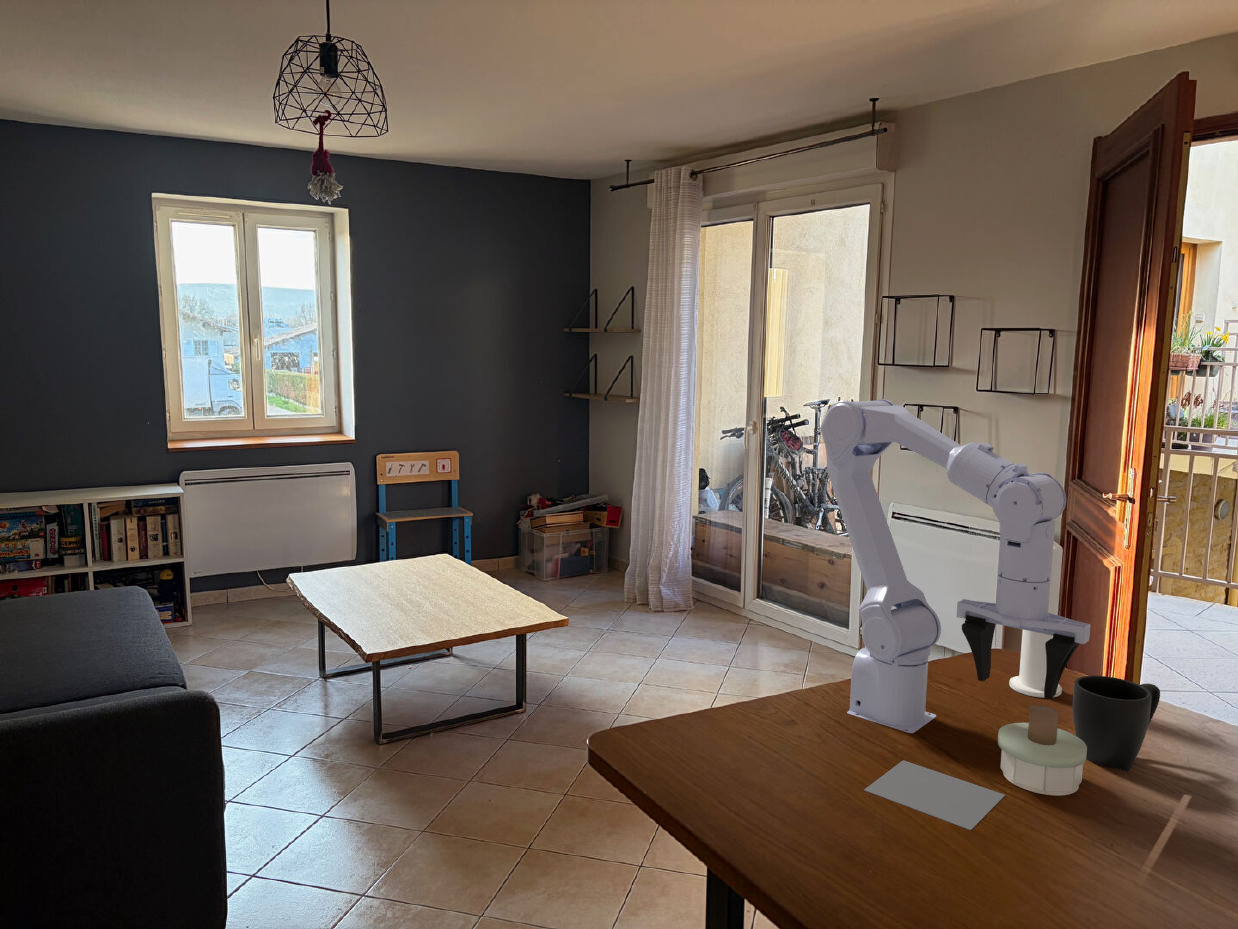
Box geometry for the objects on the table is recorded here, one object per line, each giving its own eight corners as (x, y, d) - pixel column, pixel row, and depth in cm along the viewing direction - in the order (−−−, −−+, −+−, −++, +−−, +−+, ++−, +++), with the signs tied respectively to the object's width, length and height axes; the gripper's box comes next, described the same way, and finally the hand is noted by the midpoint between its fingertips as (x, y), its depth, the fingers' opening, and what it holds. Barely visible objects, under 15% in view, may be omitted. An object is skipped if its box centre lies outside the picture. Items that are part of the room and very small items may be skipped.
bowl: (992, 782, 101) (994, 748, 101) (1016, 760, 107) (1018, 727, 107) (1066, 807, 96) (1069, 771, 96) (1087, 782, 102) (1090, 748, 101)
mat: (863, 794, 98) (863, 789, 98) (902, 765, 106) (903, 760, 106) (970, 835, 90) (970, 830, 90) (1005, 800, 98) (1005, 795, 97)
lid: (984, 748, 101) (986, 709, 100) (1017, 725, 107) (1019, 688, 107) (1068, 776, 94) (1071, 735, 94) (1098, 750, 101) (1101, 711, 100)
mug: (1183, 766, 106) (1190, 691, 105) (1110, 782, 102) (1117, 704, 101) (1123, 738, 114) (1129, 668, 112) (1053, 752, 109) (1058, 679, 108)
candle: (1057, 683, 132) (1070, 521, 129) (1065, 701, 126) (1078, 530, 123) (1007, 677, 135) (1018, 518, 131) (1011, 694, 128) (1023, 527, 125)
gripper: (949, 571, 105) (942, 680, 106) (1080, 595, 95) (1071, 714, 97) (972, 561, 110) (965, 665, 112) (1099, 583, 100) (1089, 696, 102)
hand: (1015, 687), depth 105 cm, fingers open, 7 cm apart
